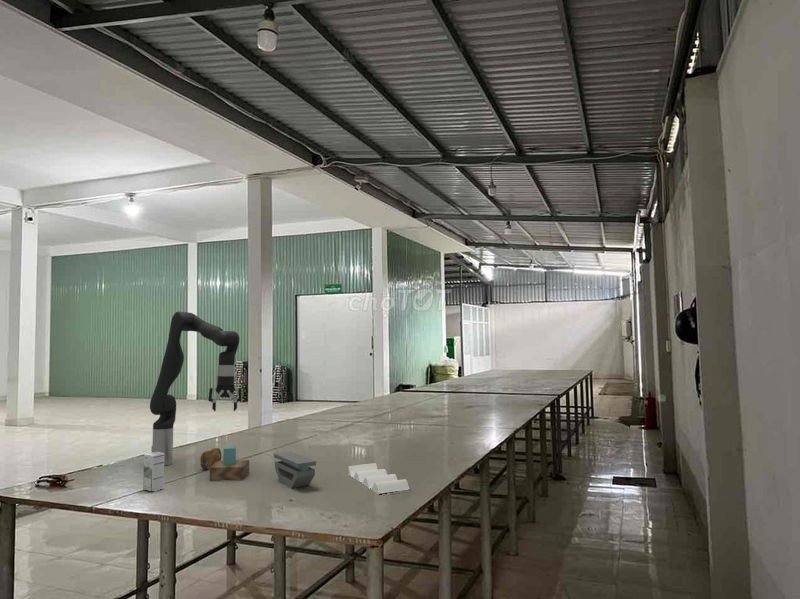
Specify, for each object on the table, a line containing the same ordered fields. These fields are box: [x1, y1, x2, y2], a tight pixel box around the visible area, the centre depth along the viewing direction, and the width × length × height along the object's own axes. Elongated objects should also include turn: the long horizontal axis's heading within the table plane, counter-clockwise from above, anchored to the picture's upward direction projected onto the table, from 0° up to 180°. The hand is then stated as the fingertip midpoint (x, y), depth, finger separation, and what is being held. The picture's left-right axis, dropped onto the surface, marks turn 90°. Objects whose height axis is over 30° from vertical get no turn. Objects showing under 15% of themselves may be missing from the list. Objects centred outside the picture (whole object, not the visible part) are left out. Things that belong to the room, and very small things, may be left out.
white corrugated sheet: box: [347, 462, 410, 496], centre depth 232 cm, size 13×35×5 cm, turn 25°
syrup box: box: [143, 452, 165, 492], centre depth 224 cm, size 6×6×14 cm
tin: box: [200, 447, 222, 471], centre depth 264 cm, size 15×3×8 cm, turn 168°
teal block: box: [222, 445, 237, 465], centre depth 245 cm, size 5×5×7 cm
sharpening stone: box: [273, 451, 317, 489], centre depth 232 cm, size 25×8×11 cm, turn 34°
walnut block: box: [209, 459, 250, 482], centre depth 245 cm, size 14×14×6 cm
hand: (224, 410), depth 253 cm, fingers open, 8 cm apart
